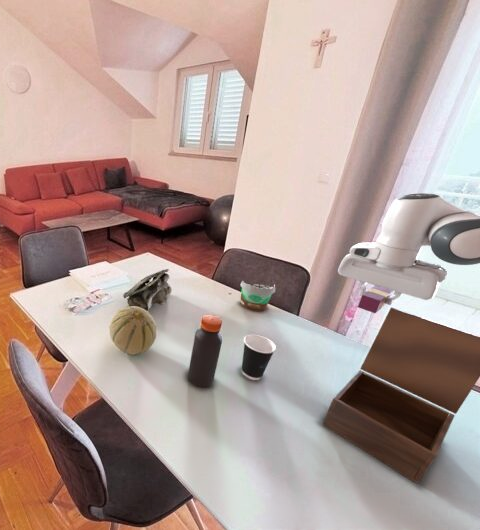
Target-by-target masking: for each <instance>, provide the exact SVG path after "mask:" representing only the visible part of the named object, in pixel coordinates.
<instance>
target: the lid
mask: <svg viewBox="0 0 480 530" xmlns="http://www.w3.org/2000/svg"><path fill="white" fill-rule="evenodd" d="M359 370H361V371H363V372H365V373H367V374H369V375H371V376H373V377H376V378H378V379H380V380H382V381H384V382H386V383H388V384H390V385H392V386H394V387H397V388H399V389H401V390H403V391H405V392H407V393H409V394H411V395H413V396H416V397H418V398H420V399H422V400H424V401H426V402H428V403H430V404H433V405H435V406H437V407H439V408H441V409H443V410H445V411H447V412H450V413H452V414H454V415H456V414H457V413H458V411H459V410H460V408H461V407H462V406H463V404H464V402H465V401H466V399H467V397H468V396H469V395H470V393H471V392H472V390H473V388H474V387H475V385H476V383H477V382H478V381H479V379H480V335H476V334H473V333H471V332H468V331H465V330H462V329H458V328H456V327H454V326H453V327H452V326H450V325H446V324H443V323H440V322H437V321H434V320H432V319H428V318H426V317H422V316H420V315H415V314H413V313H410V312H407V311H404V310H400V309H398V308H395V307H390V308H389V311H388V312H387V314H386V316H385V318H384V320H383V322H382V324H381V326H380V328H379V330H378V333H377V334H376V336H375V339H374V341H372V345H371V346H370V348H369V350H368V352H367V355H366V357H365V358H364V360H363V363H362V364H361V366H360V369H359Z"/></svg>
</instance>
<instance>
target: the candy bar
mask: <svg viewBox="0 0 480 530" xmlns="http://www.w3.org/2000/svg"><path fill="white" fill-rule="evenodd" d="M367 290H368V291H367V292H366V293H364V294H363V295H362V296H360V300H359V302H358V305H357V308H358V309H362V310H364V311H367V312H370V313H373V314H376V313H378V312H379V311H380V310H381V309H383V308H384V306H385V305H386V304H385V303H384V301H385V299H386V298H387V297H388V296H389V297H392V296H393V294H394V291H393V290H390V289H386V288H383V287H379V286H376V285H373V286H372V287H371V288H369V289H367Z"/></svg>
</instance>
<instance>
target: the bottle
mask: <svg viewBox="0 0 480 530" xmlns="http://www.w3.org/2000/svg"><path fill="white" fill-rule="evenodd" d="M222 325H223V320H222V319H221V317H219V316H217V315H214V314H204V315H203V316H201V320H200V328H199V329H197V330H196V331H195V332H194V338H193V344H192V350H191V354H190V355H191V356H190V360H189V361H190V362H189V366H188V372H187V378H188V380H189V381H190V383H192V384H193V385H194V386H196V387H198V388H209V387H211V386H212V385H213V384H214V380H215V377H216V371H217V366H218V361H219V358H220V353H221V349H222V344H223V336H222V334H221V333H220V332H221V329H222Z"/></svg>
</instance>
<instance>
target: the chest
mask: <svg viewBox="0 0 480 530" xmlns="http://www.w3.org/2000/svg"><path fill="white" fill-rule="evenodd" d="M455 416H456V414H455V413H452V412H450V411H448V410H446V409H444V408H442V407H440V406H438V405H436V404H433V403H431V402H429V401H427V400H425V399H423V398H421V397H419V396H417V395H414V394H412V393H410V392H408V391H406V390H404V389H402V388H400V387H398V386H395V385H393V384H391V383H389V382H387V381H385V380H383V379H381V378H378V377H376V376H374V375H372V374H370V373H368V372H366V371H364V370H361V369H359V370H358V372H356V373H355V374H354V376H353V377H352V378H351V379H349V381H348V382H347V383H346V384H345V386H344V387H343V388H341V390H340V391H339V392H338V393H337V394H336V395H335V396H334V397H333V398H332V401H331V403H330V406H329V408H328V410H327V412H326V414H325V416H324V418H323V421H322V423H321V424H322V425H323V426H324V427H326V428H327V429H329V430H330V431H332V432H334V433H335V434H337V435H338V436H340V437H342V438H343V439H344V440H346V441H348V442H349V443H351V444H353V445H354V446H356V447H358V448H359V449H360V450H362V451H364V452H365V453H367V454H369V455H370V456H372V457H373V458H374V459H376V460H378V461H380V462H382V463H383V464H384V465H386V466H387V467H389V468H391V469H392V470H394V471H395V472H398V473H399V474H401V475H402V476H404V477H405V478H406V479H409V480H410V481H411V482H414V483H415V484H417V485H418V484H419V483H420V481H421V479H422V478H423V477H424V475H425V473H426V472H427V471H428V470H429V468H430V466H431V465H432V463H433V462H434V460H435V459H436V458H437V456H438V453H439V451H440V449H441V447H442V444H443V443H444V440H445V438H446V436H447V434H448V432H449V429H450V427H451V426H452V422H453V420H454V418H455Z"/></svg>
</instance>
